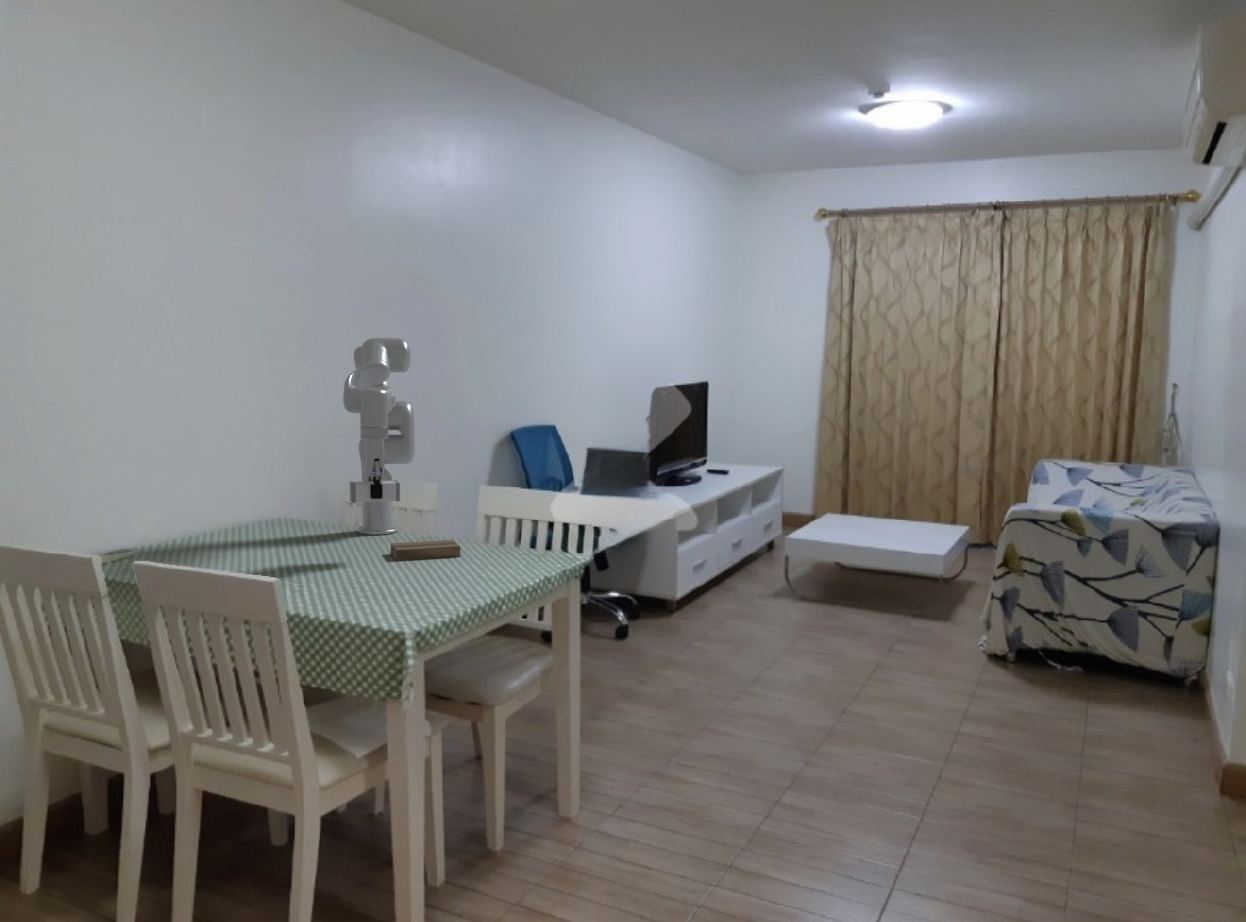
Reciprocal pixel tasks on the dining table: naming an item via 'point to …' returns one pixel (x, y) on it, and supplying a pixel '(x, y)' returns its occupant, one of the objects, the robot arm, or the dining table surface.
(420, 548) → the walnut stand
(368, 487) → the block
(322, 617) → the dining table surface
